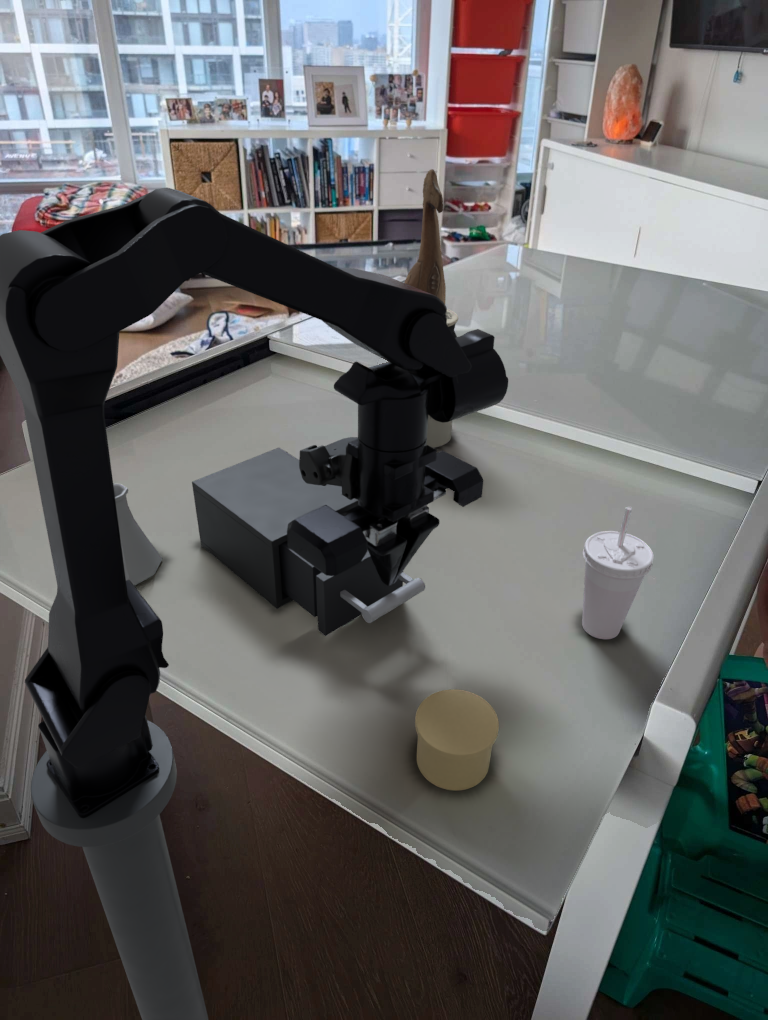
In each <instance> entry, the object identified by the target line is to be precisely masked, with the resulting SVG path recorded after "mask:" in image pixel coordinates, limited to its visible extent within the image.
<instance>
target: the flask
mask: <svg viewBox="0 0 768 1020" xmlns="http://www.w3.org/2000/svg"><path fill="white" fill-rule="evenodd" d="M113 486H114V493H115V501H116V509H117V516H118V524H119V532H120V539H121V547H122V555H123V563H124V570H125V578H126V580H130V581H131V582H132V583H133V585H134V586H135V587H136V585H138V584H140V583H142V582H144V581H145V580H147V579H149V578H151V577H153V576H154V575H156V573H157V570H158V569H159V566H160V565H161V563H162V560H163V557H162V556H161V554H160V553H159V551H158V550H157V549H156V547H155V546H154V545H153V543H152V542H151V541H150V539H149V538H148V537H147V535H146V534H145V532H144V531H143V530H142V528H141V526H140V525H139V523H138V522H137V521H136V519H135V517H134V515H133V513H132V510H131V509H130V506H129V502H128V499H127V494H128V493H129V488H128V487H127V486H125V485H124V484H122V483H115V482H113Z"/></svg>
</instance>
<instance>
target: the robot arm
mask: <svg viewBox="0 0 768 1020" xmlns="http://www.w3.org/2000/svg"><path fill="white" fill-rule="evenodd" d="M198 275H204V276H207V277H210V278H212V279H215V280H217V281H219V282H222V283H225V284H228V285H230V286H232V287H235V288H237V289H240V290H243V291H246V292H248V293H251V294H253V295H255V296H258V297H261V298H263V299H266V300H269V301H271V302H274V303H276V304H279V305H281V306H284V307H286V308H289V309H291V310H294V311H297V312H299V313H302V314H304V315H307V316H310V317H313V318H315V319H318V320H320V321H322V322H323V323H324V324H325V325H326V326H328V327H329V328H330V329H332V330H333V331H335V332H336V333H338V334H339V335H340V336H342V337H344V338H345V339H347V340H348V341H349V342H351V343H353V344H354V345H356V346H358V347H359V348H362V349H364V350H365V351H368V352H369V353H371V354H373V355H375V356H377V357H379V358H383V359H385V360H387V361H388V362H386V363H382V364H379V365H378V364H375V365H373V366H369V367H368V366H366V365H364V364H363V363H361V362H358V361H354V362H353V363H352V365H351V366H350V368H349V369H348V370H347V371H346V372H344V373H343V374H342V375H340V376H339V378H338V379H337V380H336V381H335V382H334V383H333V389H334V391H336V392H337V393H339V394H340V395H342V396H344V397H345V398H347V399H348V400H351V401H352V402H354V403H355V404H357V436H350V437H349V436H348V437H345V438H344V437H343V438H341V439H339V440H337V441H334V442H331V443H329V444H326V445H320V446H319V445H317V444H313V445H310V446H308V447H305V448H303V449H300V450H299V458H298V459H299V468H300V472H301V475H302V479H303V480H304V481H305V482H306V483H307V484H314V485H322V486H326V485H334V486H342V495H343V496H345V497H346V498H348V499H350V500H352V499H354V498H355V499H357V500H358V504H359V505H358V506H356V507H354V508H352V509H350V510H348V511H345V512H343V513H341V514H340V513H338V512H337V511H335V510H333V509H332V508H330V507H329V506H327V505H324V506H322V507H320V508H318V509H315V510H313V511H311V512H309V513H307V514H305V515H303V516H300V517H298V518H296V519H294V520H293V521H291V522H290V523H288V528H287V541H288V547H289V548H290V549H291V550H293V551H294V552H295V553H297V554H298V555H299V556H301V557H302V558H303V559H305V560H306V561H307V562H309V563H310V564H311V565H313V566H314V567H315V568H317V569H318V570H319V571H321V572H322V573H324V574H325V575H326V576H337V575H339V574H341V573H342V572H344V571H346V570H348V569H350V568H352V567H353V566H355V565H357V564H359V563H360V562H361V561H362V559H363V558H364V556H365V554H366V553H367V550H368V552H369V554H370V556H371V559H372V561H373V563H374V565H375V568H376V570H377V572H378V574H379V577H380V579H381V581H382V582H383V583H384V584H386V585H387V586H390V585H392V584H394V583H395V582H396V581H397V579H398V578H399V576H400V575H401V573H402V572H404V571H405V569H406V567H407V566H408V565H409V564H410V562H411V560H412V559H413V557H414V556H415V555H416V553H417V552H418V550H419V549H420V547H422V545H423V544H424V542H425V541H426V540H427V539H428V538H429V536H430V535H431V533H432V532H433V531H434V530H435V529H436V528H438V527H439V526H440V523H441V521H440V519H439V518H438V517H437V516H435V515H433V514H432V513H430V507H429V506H428V505H429V504H431V503H433V502H434V501H435V500H438V499H439V498H442V497H444V496H445V495H447V490H448V489H449V490H450V491H452V492H453V498H452V500H453V501H454V502H455V503H456V504H457V505H458V506H461V507H462V508H464V507H466V506H468V505H470V504H472V503H473V502H475V501H477V500H479V499H481V498H483V491H484V488H483V487H484V481H485V480H484V478H483V475H482V473H481V472H480V470H479V469H478V467H477V466H474V465H473V464H471V463H469V462H466V461H465V460H463V459H461V458H459V457H457V456H455V455H453V454H452V453H449V452H447V451H445V450H443V449H442V450H440V451H438V450H437V448H432V447H430V446H429V445H427V429H428V415H429V416H430V417H432V418H433V419H434V420H436V421H438V422H442V423H444V422H449V421H452V422H453V421H455V420H458V419H460V418H464V417H466V416H468V415H472V414H474V413H477V412H480V411H483V410H485V409H488V408H491V407H493V406H496V405H498V404H500V403H501V402H502V401H503V400H504V399H505V396H506V394H507V392H508V387H509V377H508V376H507V371H506V368H505V364H504V362H503V360H502V358H501V356H500V355H499V353H498V352H497V351H496V349H495V348H494V347H495V336H494V335H493V334H490V333H488V332H486V331H483V330H481V329H479V328H477V329H473V330H469V331H467V332H465V333H464V334H462V335H459V336H457V337H456V338H455V337H454V335H453V333H452V332H451V330H450V329H449V327H448V325H447V317H446V312H447V309H448V306H447V304H446V303H445V304H444V302H443V301H442V300H441V299H439V298H438V297H437V296H435V295H432V294H430V293H427V292H425V291H422V290H420V289H418V288H415V287H413V286H410V285H408V284H405V283H404V282H403V281H400V280H397V279H395V278H392V277H391V276H389V275H385V274H382V273H377V272H372V271H367V270H363V269H359V268H352V267H342V266H341V267H340V266H337V265H332V264H331V263H328V262H327V261H324V260H322V259H320V258H317V257H315V256H313V255H311V254H308V253H306V252H304V251H302V250H300V249H298V248H295V247H294V246H291V245H290V244H287V243H285V242H282V241H281V240H279V239H276V238H274V237H272V236H270V235H268V234H266V233H264V232H262V231H259V230H258V229H255V228H253V227H251V226H248V225H246V224H244V223H242V222H240V221H237V220H236V219H234V218H231V217H229V216H227V215H225V214H222V213H221V212H220V211H219V210H217V208H215V207H214V206H213V205H212V204H211V203H209V202H208V201H205V200H204V199H202V198H198V197H196V196H193V195H191V194H188V193H186V192H183V191H181V190H178V189H175V188H171V187H161V188H155V189H154V190H152V191H150V192H147V193H146V194H144V195H141V196H139V197H137V198H135V199H133V200H130V201H129V202H128V201H127V202H126V203H124V204H120V205H117V206H113V207H110V208H107V209H103V210H99V211H96V212H92V213H87V214H85V215H81V216H77V217H74V218H71V219H68V220H64V221H63V222H61V223H58V224H56V225H54V226H52V227H49V228H48V229H45V230H43V231H41V232H39V231H34V230H24V229H18V230H14V231H10V232H5V233H2V234H0V358H1V360H2V362H3V364H4V365H5V368H6V370H7V372H8V374H9V376H10V378H11V380H12V383H13V384H14V386H15V388H16V391H17V393H18V395H19V397H20V400H21V403H22V407H23V411H24V412H23V413H24V418H25V423H26V428H27V433H28V438H29V443H30V449H31V454H32V460H33V464H34V465H33V466H34V469H35V470H34V471H35V474H36V475H35V476H36V481H37V485H38V492H39V496H40V501H41V507H42V512H43V517H44V522H45V528H46V534H47V538H48V545H49V548H50V554H51V560H52V564H53V570H54V575H55V581H56V587H57V588H56V595H55V598H54V600H53V602H52V605H51V608H50V609H49V612H48V635H47V636H48V637H47V648H46V649H45V650H44V652H43V653H42V655H41V656H40V658H39V659H38V660H37V662H36V663H35V664H34V666H33V667H32V669H31V670H30V672H29V673H28V674H27V676H26V677H25V679H24V684H25V686H26V688H27V690H28V692H29V694H30V696H31V698H32V700H33V702H34V704H35V706H36V708H37V710H38V711H39V714H40V715H41V716H40V717H42V720H43V721H41V722H40V723H38V729H39V732H40V735H41V738H42V741H43V743H44V746H45V749H46V751H47V753H48V755H49V758H50V759H49V760H48V761H47V764H46V765H47V768H48V770H49V772H50V773H51V775H52V776H53V778H54V779H55V781H56V782H57V784H58V785H59V787H60V788H61V790H62V791H63V793H64V794H65V796H66V797H67V799H68V800H69V802H70V803H71V805H72V806H73V808H74V810H75V811H76V813H77V814H78V816H79V817H80V818H86V817H88V816H90V815H92V814H93V813H95V812H96V811H98V810H100V809H101V808H103V807H104V806H106V805H108V804H109V803H111V802H112V801H114V800H116V799H117V798H119V797H120V796H122V795H124V794H125V793H127V792H128V791H130V790H132V789H133V788H135V787H136V786H138V785H140V784H141V783H143V782H144V781H146V780H148V779H149V778H151V777H152V776H154V775H156V774H157V773H158V772H159V765H158V763H157V762H156V760H155V759H154V758H153V757H152V755H151V754H150V753H149V752H148V751H150V750H152V747H153V744H152V739H151V735H150V731H149V726H148V722H147V720H148V718H147V709H148V705H149V701H150V696H151V695H152V694H154V693H156V692H157V690H158V688H159V685H160V681H161V670H160V669H167V668H169V666H170V664H169V663H168V661H167V659H165V657H164V654H163V639H164V626H163V621H162V620H161V618H160V617H159V616H158V614H157V613H156V611H154V609H153V608H152V606H151V605H150V604H149V603H148V602H147V600H146V599H145V598H144V596H143V595H142V593H141V592H140V591H139V590H138V589H137V588H136V585H135V586H134V585H133V583H132V582H131V581H130V580H126V578H125V570H124V563H123V555H122V547H121V539H120V532H119V524H118V516H117V509H116V501H115V493H114V486H113V483H114V479H113V471H112V464H111V455H110V448H109V440H108V433H107V425H106V417H105V402H106V400H107V396H108V394H109V391H110V388H111V386H112V384H113V380H114V377H115V374H116V372H117V368H118V362H119V347H120V332H121V331H123V330H125V329H127V328H128V327H131V326H132V325H134V324H136V323H138V322H140V321H142V320H143V319H145V318H148V317H149V316H151V315H153V314H154V313H155V312H156V311H157V310H158V309H159V308H160V307H161V306H162V305H163V303H165V302H166V301H167V300H168V299H169V298H170V297H171V296H172V295H173V294H174V293H175V292H176V291H177V290H178V289H179V288H180V287H181V286H182V285H183V284H184V283H185V282H187V281H188V280H190V279H192V278H194V277H196V276H198ZM153 767H154V769H152V770H150V769H151V768H153ZM84 809H87V810H86V811H85V812H82V811H83V810H84Z"/></svg>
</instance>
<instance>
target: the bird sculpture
mask: <svg viewBox="0 0 768 1020" xmlns="http://www.w3.org/2000/svg"><path fill="white" fill-rule="evenodd" d="M422 199H423V200H422V223H421V237H420V245H419V252H418V259H417V261H416V262H415V263H414V264H413V266H411V268H410V270H409V272H408V274H407V276H406V278H405V280H404V282H403V283H405V284H408V285H410V286H413V287H415V288H418V289H420V290H422V291H425V292H427V293H430V294H432V295H435V296H437V297H438V298H439V299H441V300H442V301H443V302H444V304H445V305H446V295H447V294H446V293H447V292H446V291H447V290H446V289H447V288H446V287H447V286H446V279H445V271H444V266H443V265H444V264H443V257H442V256H443V253H442V246H441V235H440V223H439V221H440V220H439V215H438V214H441V213H443V211H444V198H443V194H442V192H441V189H440V186H439V180H438V175H437V173H436V171H435V169H434V168H431V169H429V170H428V171H427V172H426V174H425V177H424V178H423V185H422Z"/></svg>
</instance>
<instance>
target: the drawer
mask: <svg viewBox="0 0 768 1020" xmlns="http://www.w3.org/2000/svg"><path fill="white" fill-rule="evenodd" d="M279 557H280V571H281V585H282V592H284V593H285V594H286V595H287V596H289V597H290V598H291V599H292V600H293V602H295V604H296V603H297V605H298V606H299V607H301V608H302V609H303V610H305V611H306V612H307V613H308V614H309V615H311V616H312V617H313V618H316V619H317V631H319V633H321V634H322V636H324V637H327V636H329V635H330V634H332V633H333V632H335V631H337V630H338V629H341V628H342V627H343V626H345V625H347V624H349V623H350V622H352V621H353V620H355V619H356V618H359V617H361V616H362V619H363V620H364V621H365V622H366V623H368V624H372V623H373V622H375V621H376V620H378V619H380V618H381V617H383V616H385V615H386V614H388V613H389V612H391V611H393V610H394V609H396V608H397V607H399V606H401V605H403V604H404V603H406V602H408V601H409V600H411V599H413V598H414V597H416V596H418V595H419V594H420V593H423V592H424V591H425V589H426V583H425V582H424V580H423V579H421V578H420V577H415V578H412V577H411V576H410V575H408V574H407V573H406V572H404V571H403V572H402V573H401V575H400V576H399V578H398V579H397V581H396V582H395V583H394V584H392V585H390V586H387V585H386V584H384V583H383V582H382V581H381V579H380V577H379V574H378V572H377V570H376V568H375V565H374V563H373V561H372V559H371V556H370V554H369V552H368V550H367V553H366V554H365V556H364V558H363V559H362V561H361V562H360V563H359V564H357V565H355V566H353V567H352V568H350V569H348V570H346V571H344V572H342V573H341V574H339V575H337V576H326V575H325V574H324V573H322V572H321V571H319V570H318V569H317V568H315V567H314V566H313V565H311V564H310V563H309V562H307V561H306V560H305V559H303V558H302V557H301V556H299V555H298V554H297V553H295V552H294V551H293V550H291V549H290V548H289V547H288V541H286V542H284V543H282V544H280V545H279Z"/></svg>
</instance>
